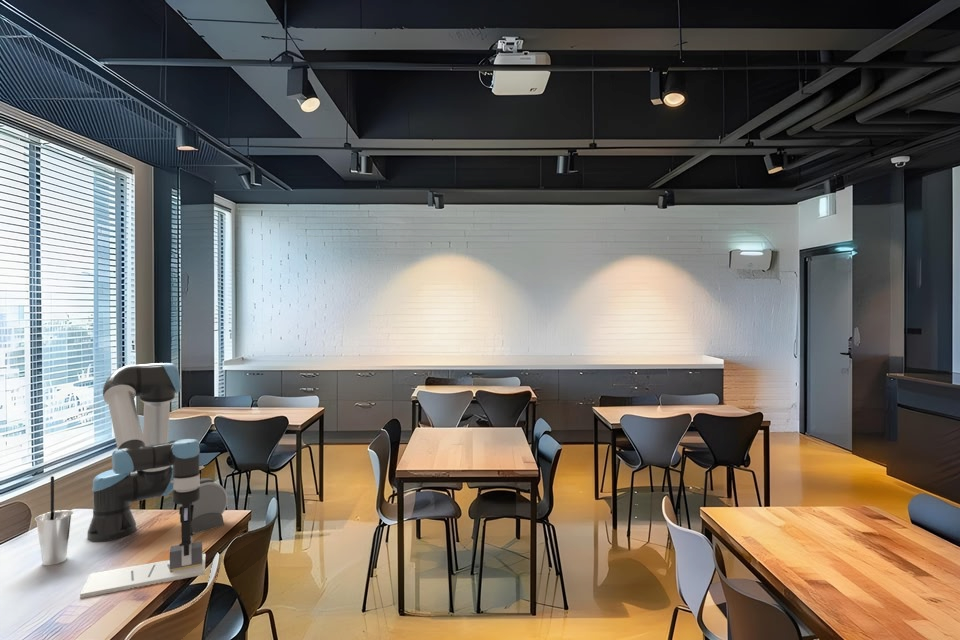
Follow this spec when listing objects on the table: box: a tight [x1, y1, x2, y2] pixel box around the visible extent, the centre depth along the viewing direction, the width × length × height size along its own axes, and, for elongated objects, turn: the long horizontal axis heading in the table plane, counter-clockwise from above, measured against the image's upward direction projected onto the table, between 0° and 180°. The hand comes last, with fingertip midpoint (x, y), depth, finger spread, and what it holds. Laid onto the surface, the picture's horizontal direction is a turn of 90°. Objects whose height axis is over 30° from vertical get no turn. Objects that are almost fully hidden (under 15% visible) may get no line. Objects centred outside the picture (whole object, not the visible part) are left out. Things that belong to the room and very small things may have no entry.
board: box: [79, 553, 207, 599], centre depth 169 cm, size 14×32×1 cm, turn 116°
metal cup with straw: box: [34, 476, 74, 566], centre depth 180 cm, size 11×11×30 cm
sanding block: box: [169, 540, 203, 571], centre depth 174 cm, size 5×9×6 cm, turn 116°
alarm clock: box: [178, 477, 229, 534], centre depth 210 cm, size 16×10×18 cm, turn 133°
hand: (187, 560), depth 174 cm, fingers closed on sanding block, 5 cm apart
